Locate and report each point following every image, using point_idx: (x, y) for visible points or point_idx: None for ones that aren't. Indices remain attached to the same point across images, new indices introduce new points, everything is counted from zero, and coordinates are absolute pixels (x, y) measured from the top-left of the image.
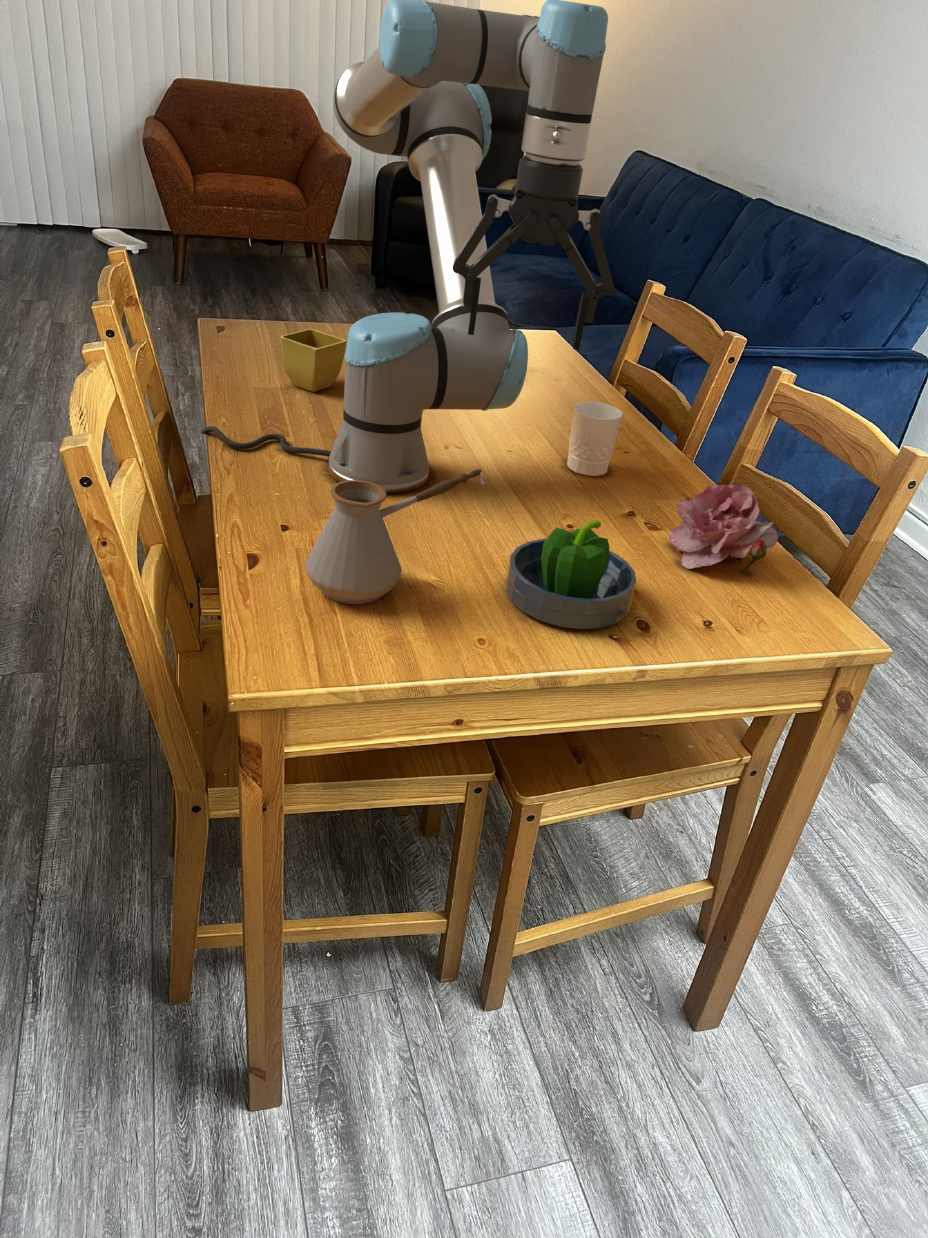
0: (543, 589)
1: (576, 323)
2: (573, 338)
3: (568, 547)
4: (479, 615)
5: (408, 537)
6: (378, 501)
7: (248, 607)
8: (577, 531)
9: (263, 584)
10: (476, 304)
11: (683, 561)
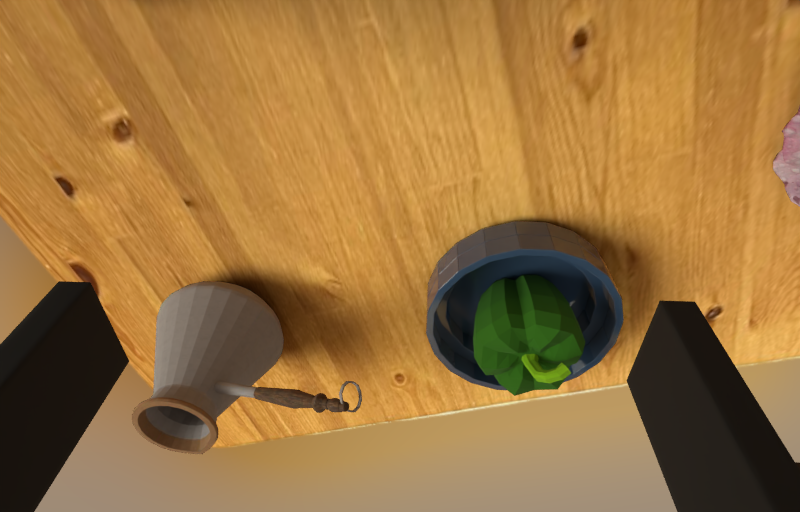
0: (469, 377)
1: (701, 426)
2: (665, 337)
3: (508, 377)
4: (394, 339)
5: (260, 170)
6: (213, 444)
7: (143, 359)
8: (534, 337)
9: (131, 321)
10: (29, 507)
11: (780, 160)
